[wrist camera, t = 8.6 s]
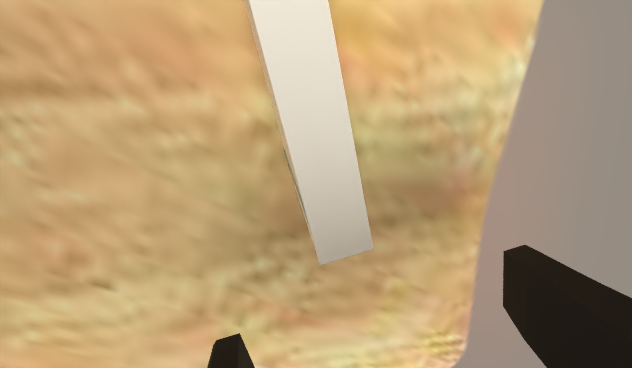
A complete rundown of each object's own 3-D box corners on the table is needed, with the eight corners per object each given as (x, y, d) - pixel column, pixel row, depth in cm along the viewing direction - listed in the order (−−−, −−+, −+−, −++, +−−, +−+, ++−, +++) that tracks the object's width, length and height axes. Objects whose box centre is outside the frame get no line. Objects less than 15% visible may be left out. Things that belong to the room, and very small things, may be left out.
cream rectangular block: (337, 179, 20) (373, 248, 16) (295, 191, 20) (319, 265, 16) (235, -296, 12) (246, -448, 8) (165, -282, 12) (132, -429, 8)
